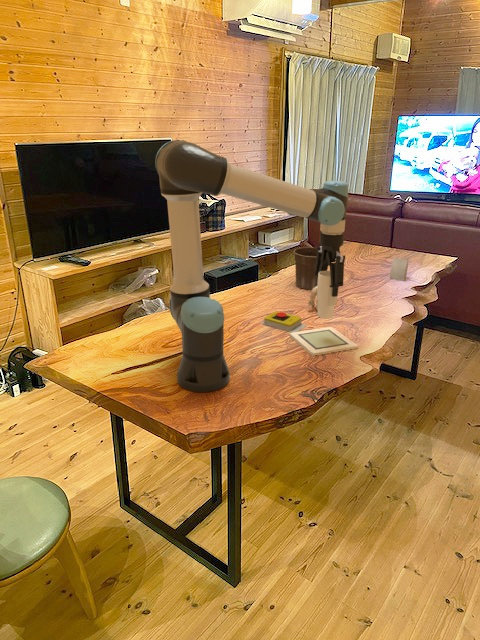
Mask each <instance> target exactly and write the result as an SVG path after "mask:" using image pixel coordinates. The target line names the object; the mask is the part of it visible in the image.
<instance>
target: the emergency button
mask: <svg viewBox="0 0 480 640" xmlns="http://www.w3.org/2000/svg"><path fill="white" fill-rule="evenodd" d="M260 324H261V325H263V326H266V327H270V328H273V329H274V328H275V329H277V330H280V331H284V332H287V333H293V332H300V331H301V330H303V329H304V328H306V327H307V324H305V323H302V317H301V316H297V315H294V314H289V313H285V312H283V311H279V310H278V311H277V310H276V311H273V312H272V313H269V314H268V315H266V316H265V317H264V318H263V321H261V322H260Z"/></svg>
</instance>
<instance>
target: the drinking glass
mask: <svg viewBox="0 0 480 640" xmlns="http://www.w3.org/2000/svg"><path fill="white" fill-rule="evenodd" d="M330 285H331V276H330V270H327V271H321V272H319V273H318V282H317V295H316V298H317V297H318V298H317V299H318V310H316V311H317V313H316V314H317V317H319V318H320V319H323V320H324V319H325V320H329V319H332V318H333V317H334V315H335V313H334V312H335V306H336V305H332V306H328V299H329V287H330Z"/></svg>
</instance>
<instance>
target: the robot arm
mask: <svg viewBox="0 0 480 640" xmlns="http://www.w3.org/2000/svg"><path fill="white" fill-rule="evenodd" d="M154 163H155V169H156V172H157V174H158V176H159V188H160V194H161V196H162V197H164V198H165V200H167V201H166V202H167V203H166V204H167V214H168V224H169V235H170V237H169V238H170V246H171V247H170V248H171V257H172V268H173V270H172V271H173V279H174V282H173V283H172V284H171V285H170V287H169V291H170V298H169V304H168V305H169V306H168V307H169V313H170V315H171V317H172V318H173V320H174V321H175V323H176V325H177V327H178V329H179V330H180V333H181V345H182V346H181V348H182V349H181V350H182V356H181V359H180V363H179V365H178V369H177V372H176V379H177V384H178V385H179V386H180V387H181V388H183V389H184V390H187V391H191V392H195V393H210V392H215V391H218V390H220V389H222V388H224V387H225V386H227V385H228V384H229V382H230V369H229V366H228V364H227V361H226V358H225V354H224V336H225V335H224V334H225V333H224V331H225V330H224V329H225V328H224V326H225V323H224V322H225V314H224V308H223V306H222V304H221V302H219V301H218V300H217V299H214V298H211V295H210V293H211V292H210V284H209V283H208V282H207V281H206V280H205V279H204V265H203V264H204V263H203V249H202V234H201V221H200V206H199V205H200V204H199V203H200V202H199V198H200V197H201V196H202V194H208V195H211V196H214V197H219V196H220V195H221V194H222V195H226V196H229V197H233V198H235V199H239V200H242V201H247V202H248V203H249V202H250V203H252V204H255V205H257V204H258V205H259V206H263V207H267V208H270V209H273V210H277V211H281V212H284V213H287V215H289V216H296V217H300V218H301V217H302V218H305V219H307V220H309V221H310V220H311V221H314V222H317V223H320V226H319V227H320V228H319V230H320V233H319V240H318V241H319V242H318V243H319V244H320V245H321V246H319V245H318V246H316V248H317V256H316V264H315V272H314V274H315V275H317V279H318V273H319V272H321V271H328V270H329V271H330V276H331V285H330V287H329V299H328V306H332V305H335V306H337V303H338V302H337V301H338V294H339V287H343V286H344V276H345V275H344V274H345V273H344V271H345V270H344V269H345V261H346V255H345V254H344V255H343V254H341V247H342V246H344V243H345V242H344V241H345V234H344V232H345V228H346V218H347V209H348V199H349V184H348V183H347V182H346V181H343V180H327V181H324V182H323V186H322V187H321V188H306V187H303V186H300V185H297V184H295V183H294V184H293V183H291V182H288V181H284V180H282V179H278V178H275V177H272V176H269V175H266V174H262V173H259V172H257V171H253V170H250V169H248V168H245V167H241V166H238V165H235V164H232V163H230V161H229V159H228V158H227V157H224V156H220V155H218V154H215V153H214V152H212V151H210V150H208V149H205V148H204V147H201V146H200V145H198V144H196V143H193V142H190V141H187V140H184V139H173V140H170V141H168V142H166V143H164V144H163V145H161V147H160V148H159V149H158V151H157V153H156V155H155V161H154ZM328 268H329V269H328ZM316 299H318V297H317V296H316Z"/></svg>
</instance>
